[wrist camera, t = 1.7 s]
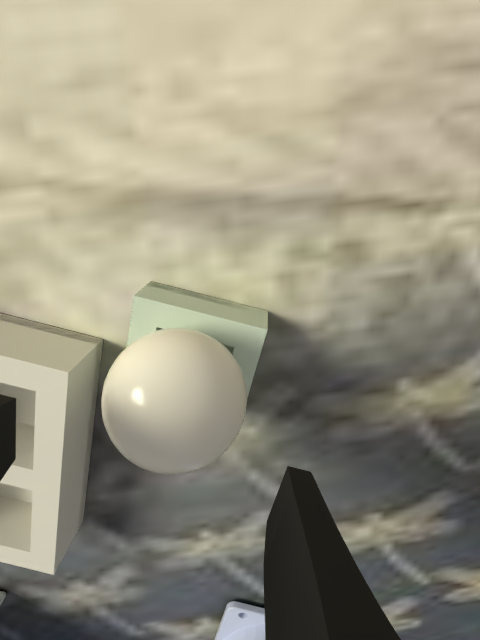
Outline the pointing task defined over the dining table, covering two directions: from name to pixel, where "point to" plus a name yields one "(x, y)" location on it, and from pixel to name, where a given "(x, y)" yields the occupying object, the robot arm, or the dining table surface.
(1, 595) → the supplement box
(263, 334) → the mint square frame
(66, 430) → the carton
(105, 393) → the cream egg
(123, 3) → the dining table surface
